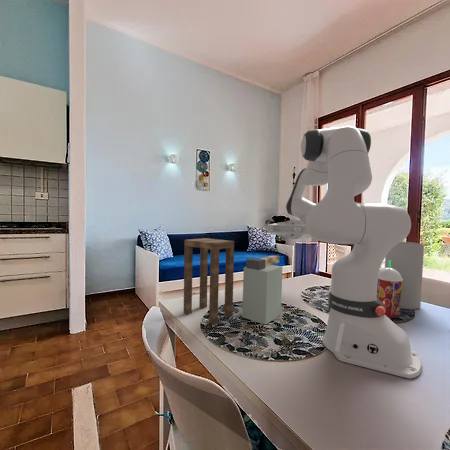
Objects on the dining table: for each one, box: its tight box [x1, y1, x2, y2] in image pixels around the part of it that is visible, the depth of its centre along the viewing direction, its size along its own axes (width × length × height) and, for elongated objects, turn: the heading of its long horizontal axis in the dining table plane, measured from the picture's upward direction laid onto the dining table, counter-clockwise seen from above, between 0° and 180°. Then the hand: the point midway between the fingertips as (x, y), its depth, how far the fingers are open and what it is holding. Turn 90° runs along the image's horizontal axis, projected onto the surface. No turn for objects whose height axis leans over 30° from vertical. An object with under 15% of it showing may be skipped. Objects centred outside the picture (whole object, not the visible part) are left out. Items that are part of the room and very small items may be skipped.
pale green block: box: [242, 264, 283, 326], centre depth 90 cm, size 9×11×17 cm
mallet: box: [245, 254, 280, 270], centre depth 92 cm, size 17×5×3 cm, turn 142°
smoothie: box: [377, 260, 403, 319], centre depth 93 cm, size 8×8×20 cm
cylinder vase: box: [384, 241, 425, 311], centre depth 104 cm, size 12×12×25 cm
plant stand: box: [183, 237, 235, 326], centre depth 90 cm, size 14×10×26 cm
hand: (282, 228), depth 105 cm, fingers open, 8 cm apart
